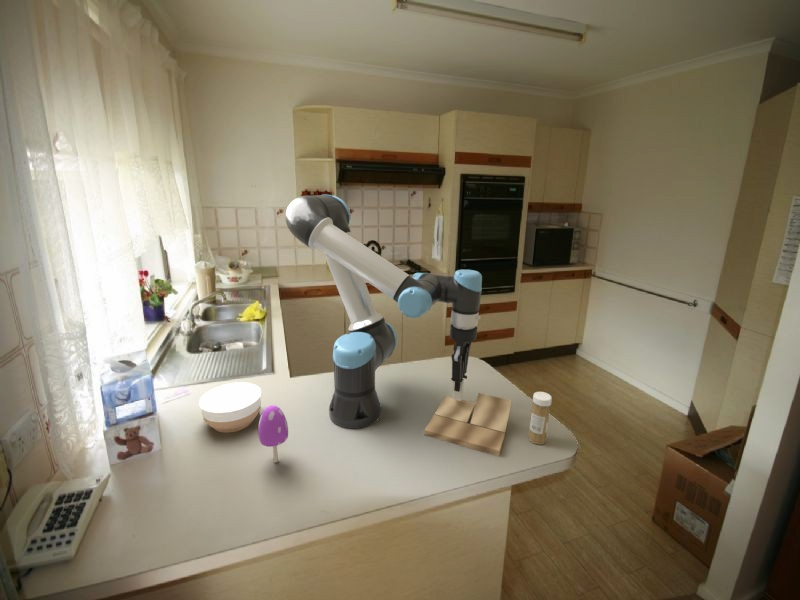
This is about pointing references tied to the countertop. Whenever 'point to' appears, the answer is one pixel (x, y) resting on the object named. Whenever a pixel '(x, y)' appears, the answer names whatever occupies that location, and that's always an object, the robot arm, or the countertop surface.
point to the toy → (273, 429)
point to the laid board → (465, 434)
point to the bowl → (231, 406)
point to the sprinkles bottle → (539, 417)
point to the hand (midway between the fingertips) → (457, 398)
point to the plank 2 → (491, 412)
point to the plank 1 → (455, 409)
